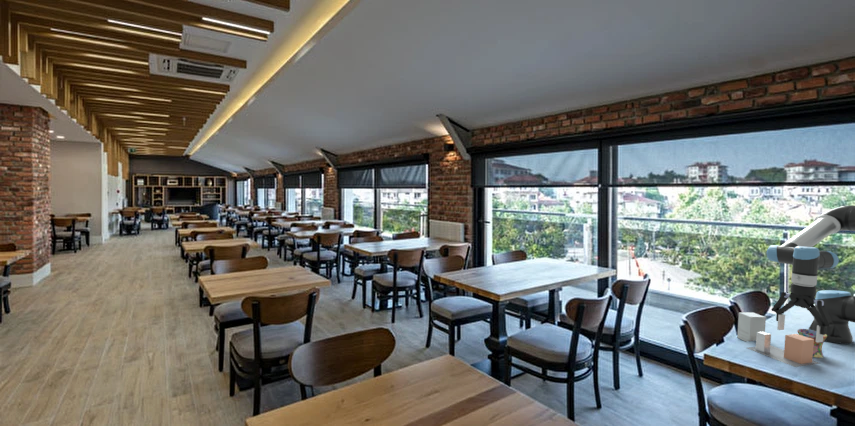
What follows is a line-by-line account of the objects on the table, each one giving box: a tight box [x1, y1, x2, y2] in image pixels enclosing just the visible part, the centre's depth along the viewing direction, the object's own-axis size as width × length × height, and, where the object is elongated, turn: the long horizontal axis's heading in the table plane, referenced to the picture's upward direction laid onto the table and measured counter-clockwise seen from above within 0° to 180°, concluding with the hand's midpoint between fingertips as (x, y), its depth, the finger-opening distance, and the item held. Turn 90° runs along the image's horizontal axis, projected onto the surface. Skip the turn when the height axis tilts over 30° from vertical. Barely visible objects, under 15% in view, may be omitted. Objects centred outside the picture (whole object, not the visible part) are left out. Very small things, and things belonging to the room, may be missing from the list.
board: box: [746, 344, 821, 368], centre depth 167 cm, size 14×19×2 cm
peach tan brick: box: [783, 333, 814, 364], centre depth 162 cm, size 6×6×10 cm
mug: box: [796, 328, 827, 358], centre depth 168 cm, size 12×9×11 cm
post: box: [755, 331, 772, 353], centre depth 170 cm, size 3×3×8 cm
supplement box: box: [736, 311, 767, 343], centre depth 186 cm, size 7×7×13 cm
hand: (799, 335), depth 161 cm, fingers open, 13 cm apart
